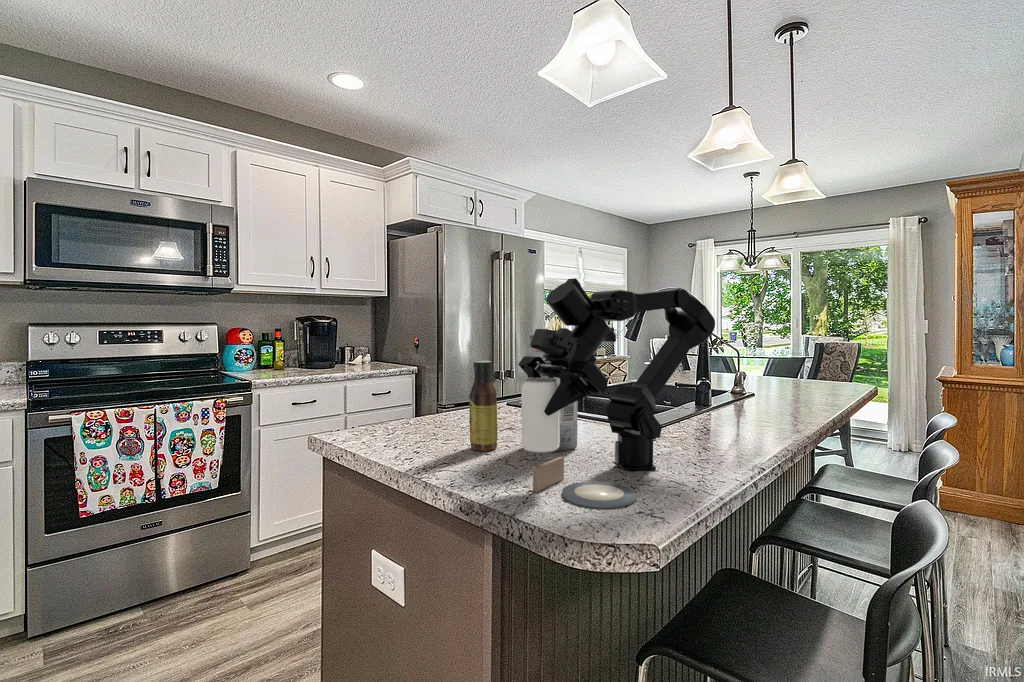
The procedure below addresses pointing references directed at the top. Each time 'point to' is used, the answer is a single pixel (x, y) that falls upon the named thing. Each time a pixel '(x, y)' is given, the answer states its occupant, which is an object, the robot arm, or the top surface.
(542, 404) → the can
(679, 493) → the top surface
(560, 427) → the juice carton
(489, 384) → the sauce bottle
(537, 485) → the brown wall
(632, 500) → the slate plate
